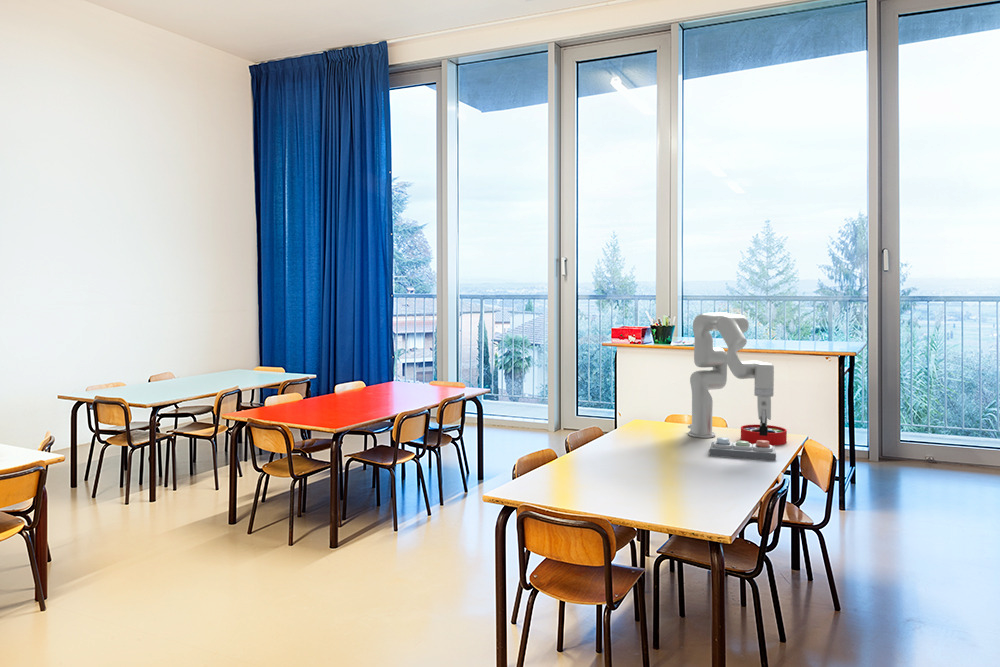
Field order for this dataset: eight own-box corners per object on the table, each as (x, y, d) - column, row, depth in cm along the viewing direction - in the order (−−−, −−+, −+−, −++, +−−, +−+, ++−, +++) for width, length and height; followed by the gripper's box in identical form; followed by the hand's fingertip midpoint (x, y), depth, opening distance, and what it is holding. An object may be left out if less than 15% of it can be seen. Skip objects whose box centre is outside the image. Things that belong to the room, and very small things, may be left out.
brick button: (756, 446, 286) (756, 442, 286) (756, 444, 291) (756, 439, 291) (769, 447, 284) (769, 443, 284) (768, 445, 289) (769, 440, 289)
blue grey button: (716, 444, 292) (716, 439, 291) (717, 441, 296) (717, 437, 296) (728, 444, 290) (729, 440, 290) (729, 442, 294) (729, 437, 294)
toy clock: (747, 433, 307) (736, 424, 327) (747, 445, 308) (735, 436, 328) (793, 433, 306) (778, 424, 325) (792, 446, 306) (778, 436, 326)
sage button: (736, 447, 289) (736, 442, 289) (736, 444, 294) (736, 440, 293) (748, 448, 287) (748, 443, 287) (748, 445, 292) (749, 441, 292)
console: (709, 455, 289) (709, 445, 288) (711, 448, 302) (711, 439, 301) (775, 460, 279) (775, 450, 279) (774, 453, 292) (774, 443, 292)
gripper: (774, 395, 278) (773, 439, 279) (773, 390, 292) (772, 432, 293) (754, 394, 280) (753, 438, 281) (754, 389, 294) (753, 431, 295)
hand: (763, 435), depth 287 cm, fingers closed
